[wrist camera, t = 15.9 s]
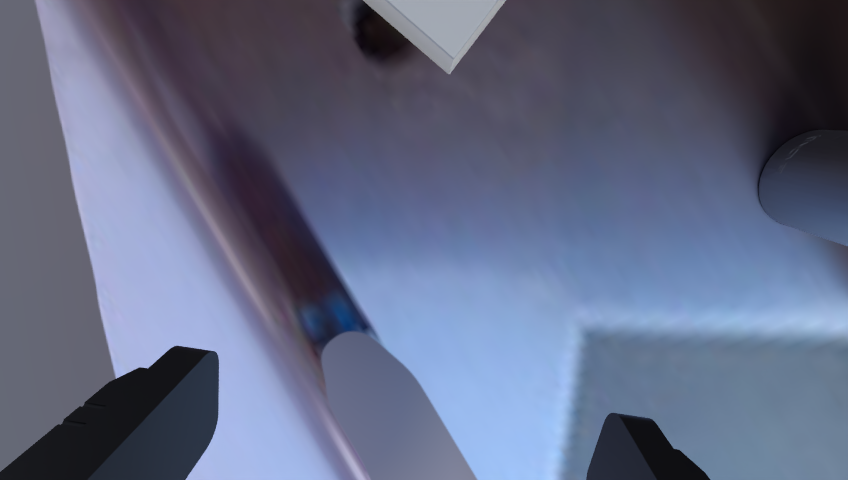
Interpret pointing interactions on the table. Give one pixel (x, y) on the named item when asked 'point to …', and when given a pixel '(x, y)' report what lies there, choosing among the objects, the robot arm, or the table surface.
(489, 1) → the box
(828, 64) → the table surface
